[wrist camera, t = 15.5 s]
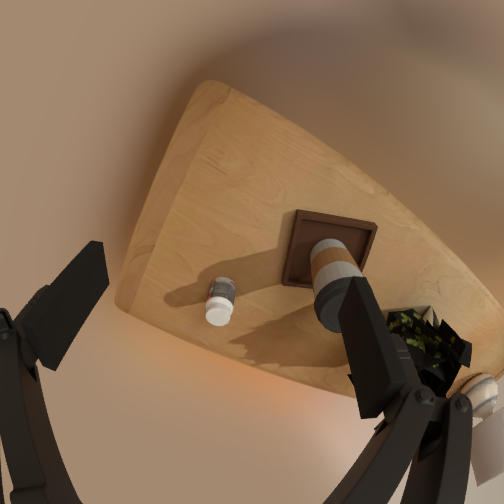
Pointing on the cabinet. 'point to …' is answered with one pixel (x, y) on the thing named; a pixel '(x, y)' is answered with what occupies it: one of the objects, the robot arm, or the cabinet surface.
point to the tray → (320, 228)
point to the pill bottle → (220, 301)
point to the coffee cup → (331, 280)
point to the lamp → (486, 428)
